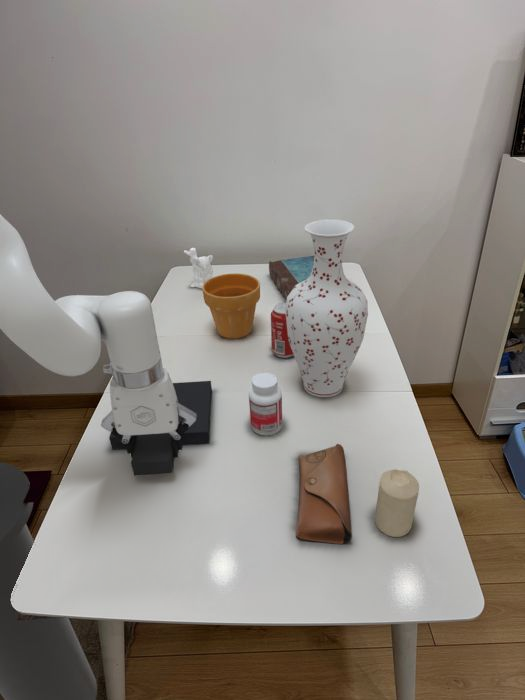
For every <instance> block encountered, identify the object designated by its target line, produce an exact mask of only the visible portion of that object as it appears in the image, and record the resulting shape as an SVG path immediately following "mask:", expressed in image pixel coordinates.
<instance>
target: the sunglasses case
mask: <svg viewBox="0 0 525 700" xmlns="http://www.w3.org/2000/svg"><path fill="white" fill-rule="evenodd" d="M297 460H298V461H297V462H298V469H299V470H298V471H299V474H298V475H299V484H298V485H299V489H298V511H297V518H296V527H295V537H296V538H297V539H299V540H302V541H308V542H313V543H321V544H331V545H332V544H333V545H344V544H347V543H348V542H350V541H351V540H352V537H353V536H352V535H353V534H352V520H351V519H352V518H351V506H350V494H349V484H348V472H347V464H346V463H347V462H346V456H345V449H344V446H343V445H342V444H340V443H336V444H335V445H333V446H330V447H328V448H324V449H321V450H317V451H315V452H311V453H309V454H303V455H302V454H299V455H298V456H297Z"/></svg>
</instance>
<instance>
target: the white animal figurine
mask: <svg viewBox="0 0 525 700" xmlns="http://www.w3.org/2000/svg"><path fill="white" fill-rule="evenodd" d="M183 253H184V254H185V255H187V256H188V257H190V258H189V262H190V263H191V265H192V272H193V276H192V279H193V283H192V284H190V288H197V289H201V290H203V289H202V287H203V284H204V283H205V282H206V281H207V280H209V279H211V278H213V277H214V276H213V275H214V268H213V266H212V264H211V262H213V260H214V256H213V255H212V254H208V256H204V255H203V256H199V257H198V254H197V249H196V248H195V247H191V248H190V249H189V250H186V249H185V250H183Z"/></svg>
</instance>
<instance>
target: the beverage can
mask: <svg viewBox="0 0 525 700" xmlns="http://www.w3.org/2000/svg"><path fill="white" fill-rule="evenodd" d="M285 308H286V302H282V303H277V304H275V305H274V306H273V309H272V311H271V312H270V332H271V333H270V339H271V340H270V341H271V352H272V353H273V354H274V355H275V356H277V357H278V358H282V359H285V358H286V359H287V358H291V357H294V354H293V352H292V349H291V346H290V343H289V339H288V332H287V323H286V313H285Z"/></svg>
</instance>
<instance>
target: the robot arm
mask: <svg viewBox="0 0 525 700" xmlns="http://www.w3.org/2000/svg"><path fill="white" fill-rule="evenodd" d="M154 317H155V316H154V312H153V307H152V302H151V301H150V298H149V297H148V296H147V295H145V293H142V292H140V291H136V290H124V291H123V290H122V291H118V292H115V293H112V294H108V295H90V294H72V295H65V296H62V297H59V298H57V299H56V300H54V298H53V297H52V296H51V295H50V294H49V292H48V291H47V290H46V288H45V286H44V285H43V283H42V282H41V279H40V278H39V277H38V275H37V273H36V271H35V269H34V267H33V263H32V261H31V258H30V255H29V252H28V249H27V247H26V244H25V242H24V240H23V238H22V236H21V234H20V233H19V231H18V229H16V228H15V227H14V226H13V225H12V224H11V223H10V222H9V221H8V220H7V219H6V218H5V217H4V216H3V215H2V214H1V213H0V330H1V331H2V332H3V334H4V335H5V336H6V337H7V338H8V339H9V340H10V341H11V342H12V343H13V344H14V345H15V346H17V347H18V348H19V349H21V351H23V352H24V353H25V354H27V355H28V356H29V357H30V358H32V359H33V360H34V361H35V362H37V363H38V364H39V365H40V366H41V367H43V368H45V369H46V370H48V371H50V372H52V373H54V374H56V375H59V376H64V377H77V376H79V377H80V376H82V375H84V374H87V373H89V372H90V371H91V370H92V369H93V368H94V367H95V366H96V364H97V363H98V361H99V359H100V356H101V350H102V342H103V343H104V344H105V346H106V350H107V355H108V358H109V363H108V364H103V366H102V371H103V374H109V375H111V376H112V378H111V379H110V382H109V394H110V404H111V411H110V412H109V413H108V414H106V415H105V417H103V418H102V420H101V423H100V426H101V428H103V429H104V430H106V431H108V432H110V433H112V434H113V435H114V436H116V437H118V438H120V439H122V442H123V443H124V444H126V448H127V449H126V452H127V454H130V457H131V459H132V456H133V452H134V448H135V444H136V440H137V437H136V435H144V434H159V433H169V434H170V435H171V436H172V437H171V446H172V450H173V455H174V457H175V459H177V458H179V454H180V451H182V450H183V445H182V439H181V435H183V434H184V433H185V432H186V431H187V430H188V428H189V427H190V426H191V425H192V424H193V423H194V422H195V421H196V416H197V414H196V413H195V412H193V411H191V410H189V409H188V408H186V407H184V406H183V405H181V404H179V403H178V400H177V396H176V392H175V389H174V386H173V383H174V382H173V380H172V378H171V375H170V374H169V371H168V370H167V368H164V367H163V360H162V355H161V350H160V344H159V339H158V334H157V329H156V323H155V318H154ZM178 415H179V416H181V417H183V418H185V419H183V420H182V421H181V422H180V423H179V422H178Z"/></svg>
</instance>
